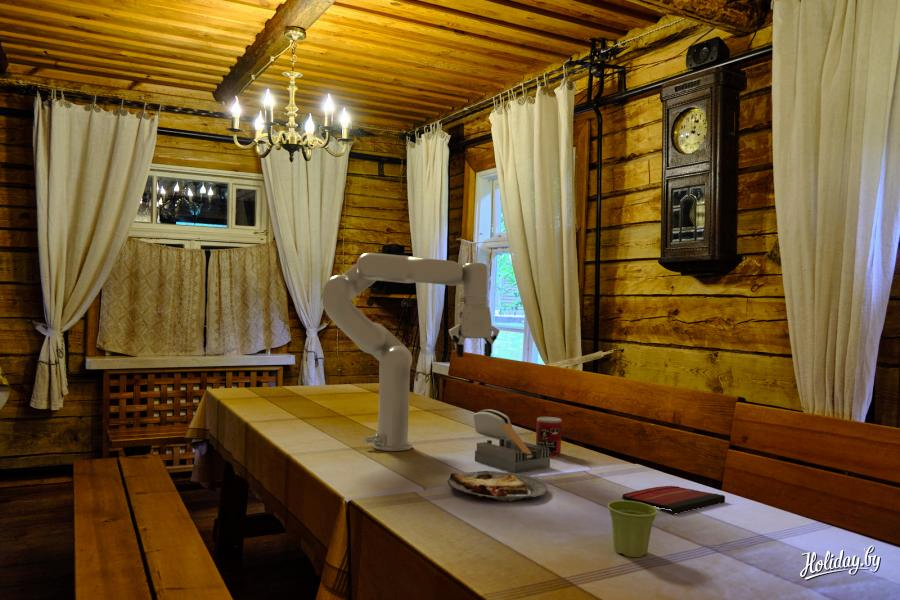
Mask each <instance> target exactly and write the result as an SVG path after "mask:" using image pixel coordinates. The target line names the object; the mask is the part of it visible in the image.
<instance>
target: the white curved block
mask: <svg viewBox="0 0 900 600" xmlns="http://www.w3.org/2000/svg"><path fill="white" fill-rule="evenodd" d="M510 419H511V418H510V417H509V415H506V414H504V413H503V412H501V411H498V410H494V409H482V410H480V411H478V412H476V413H474V415H473V421H474V422H473V423H474V428H475V432H476V431H477V433H480V432H481V433H480V434H484V433H485V434H484V435H488V434H489V436H492V437H497V438H499V439H501V438H502V439H504V438H505V439H506V440H507V439H510V437H509V436H508V435H507V433H506V432H505V431H504V429H503V428H502V427H501V425H502V424H507V423H509V424H510V426H511V427H512V428H513V426H512V423H511V420H510Z"/></svg>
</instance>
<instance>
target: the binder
mask: <svg viewBox="0 0 900 600" xmlns="http://www.w3.org/2000/svg"><path fill="white" fill-rule="evenodd" d="M621 498H622V499H623V500H624V501H635V502H641V503H645V504H648V505H651V506H656V507H659V508H665V509H671V510H672V511H671V515H672V514H675V513H680V512H684V511H688V510H691V511H693V510H692V509H696V510H698V509H697V508H700V509H703V508H702V507H704V508H707V507H711V506H710V505H712V506H715V504H716V505H719V503H720V504H724V502H725V503H726V496H725V495H724V494H718V493H711V492H706V491H700V490H697V489H696V490H695V489H691V488H686V487H681V486H675V485H663V486H655V487H654V486H653V487H649V488H644V489H639V490H635V491H631V492H626V493H624V494H622V496H621ZM706 506H707V507H706ZM688 512H689V511H688ZM684 513H685V512H684ZM680 514H681V513H680Z"/></svg>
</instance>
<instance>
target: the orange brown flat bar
mask: <svg viewBox="0 0 900 600" xmlns="http://www.w3.org/2000/svg"><path fill="white" fill-rule="evenodd" d="M501 427H502V428H503V429H504V431H505V432H506V433H507V435H508V436H509V437H510V439H511V440H512V441H513V443H514V444H515V445H516V447H517V448H518V449H519V451H520V452H525V453H527V456H528V455H531V454H532V453H531V452H530V450H529V449H528V448H527V446H526V445H525V444H524V443H523V442H524V441H523V440H522V438H521V437H520V436H519V435H518V433H517V432H516V430H515V429H514V428H513V426H512V427H511V426H510V424H509V423H507V424H502V425H501Z"/></svg>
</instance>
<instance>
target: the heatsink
mask: <svg viewBox="0 0 900 600" xmlns="http://www.w3.org/2000/svg"><path fill="white" fill-rule="evenodd" d="M523 443H524V444H525V445H526V446H527V448H528V449H529V450H530V452H531V453H532V454H531V455H528V456H527V453H525V452H520V451H519V449H518V448H517V447H516V445H515V444H514V443H513V441H512V440H511V439H504V438H499V441H498V445H497V444H493V441H492V440H491V439H487V441H483V442H482V441H481V442H476V450H475V451H474V462H477V463H480V464H483V465H487V466H490V467H493V468H496V469H500V470H503V471H504V472H505V471H506V472H507V473H515V474H521V473H525V472H531V471H537V469H538V470H542V469H541V468H544V469H547V468H546V467H549V468H551V456H549V448H545V447H542V446H538V445H536V444H533V443H530V442H525V441H523Z"/></svg>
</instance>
